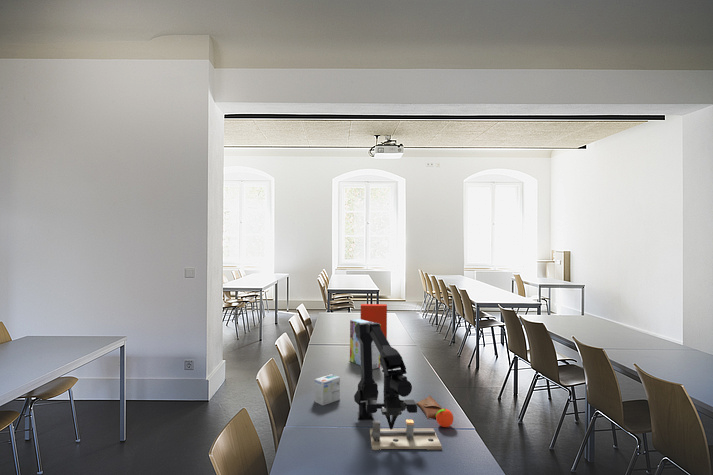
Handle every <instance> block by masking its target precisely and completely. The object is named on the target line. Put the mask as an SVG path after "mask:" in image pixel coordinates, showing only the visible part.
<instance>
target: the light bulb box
mask: <svg viewBox="0 0 713 475" xmlns="http://www.w3.org/2000/svg"><path fill="white" fill-rule="evenodd" d="M340 400H341V377H340V376H338V375H335V374H332V373H331V374H328V375H325V376H321V377H317V378H314V402H315V403H316V404H318V405H321V406H326V405H329V404H331V403H334V402H337V401H340Z"/></svg>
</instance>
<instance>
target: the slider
mask: <svg viewBox="0 0 713 475" xmlns="http://www.w3.org/2000/svg"><path fill="white" fill-rule="evenodd" d="M414 425H415V422H414V420H413V419H405V428H406V437H407V438H409V439H410V440H412V438H413V436H414Z"/></svg>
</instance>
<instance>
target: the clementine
mask: <svg viewBox="0 0 713 475" xmlns="http://www.w3.org/2000/svg"><path fill="white" fill-rule="evenodd" d="M435 417H436V419H435V420H436V423H437V424H438V425H439V426H440V427H443V428H449V427H450V426H452V425H453V422H454V413H452V411H451V410H449V409H447V408H442V409H440V410H439V411H438V412H437V414H436V416H435Z"/></svg>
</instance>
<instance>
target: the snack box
mask: <svg viewBox="0 0 713 475" xmlns="http://www.w3.org/2000/svg"><path fill="white" fill-rule="evenodd" d="M349 322H350V323H349V328H350V329H349V332H350V333H349V362H351V363H353V364H355V365H358V366H360V367H361V352H360V342H359V341H358V339H357V338H356V333H355V326H357V324H358V323H364V322H369V321H366V320H362V319H361V318H359V319H358V318H355V319H350V320H349ZM372 323H373V322H372ZM380 326H381V324H380ZM371 345H372V370H374V369H379V368H381V362H380V353H379V351H378V349H377V347H376V345H375V343H374V341H373V342H372V344H371Z"/></svg>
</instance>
